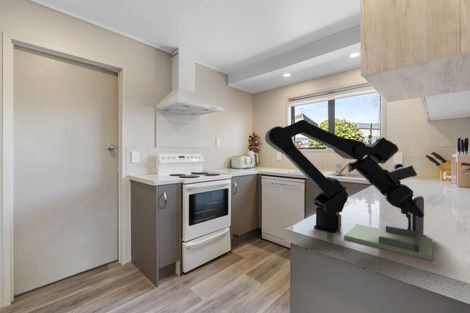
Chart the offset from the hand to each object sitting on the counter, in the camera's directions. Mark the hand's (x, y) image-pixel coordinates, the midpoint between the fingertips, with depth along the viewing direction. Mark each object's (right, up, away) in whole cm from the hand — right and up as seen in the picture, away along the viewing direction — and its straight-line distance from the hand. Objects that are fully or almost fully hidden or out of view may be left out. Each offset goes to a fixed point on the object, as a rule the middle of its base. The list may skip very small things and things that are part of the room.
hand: (418, 212), depth 62 cm
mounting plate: (-12, -7, -4) cm, 14 cm away
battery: (-1, -7, +1) cm, 7 cm away
